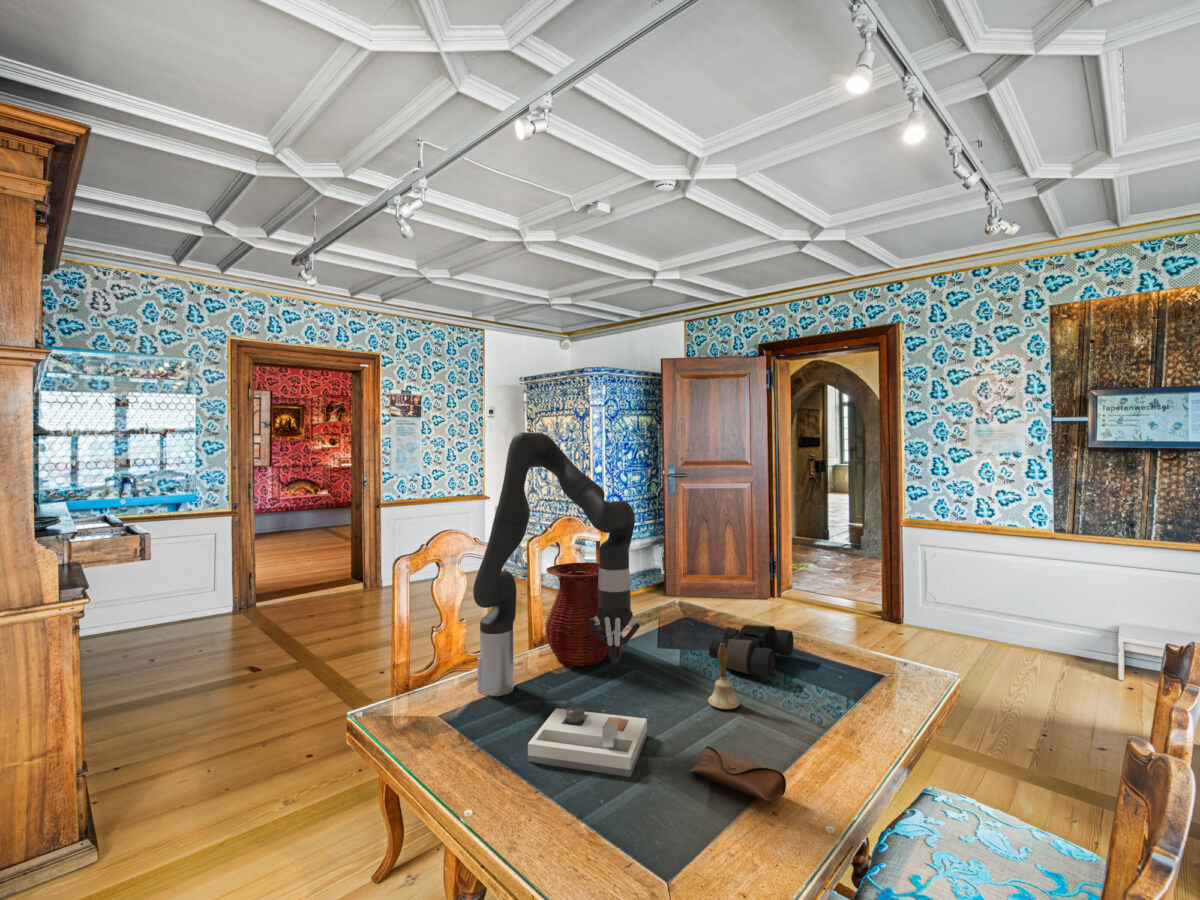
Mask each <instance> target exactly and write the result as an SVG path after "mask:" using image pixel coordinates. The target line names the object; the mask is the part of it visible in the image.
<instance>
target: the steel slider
mask: <svg viewBox="0 0 1200 900" xmlns="http://www.w3.org/2000/svg"><path fill="white" fill-rule="evenodd" d="M602 741H603V749H608V750H615V751H617V750H618V724H617V723H609V722H607V724H606V725H605V727H604V729H603V731H602Z"/></svg>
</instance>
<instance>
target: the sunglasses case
mask: <svg viewBox="0 0 1200 900" xmlns="http://www.w3.org/2000/svg"><path fill="white" fill-rule="evenodd" d="M688 772H689V773H692V774H694V775H698V776H701V777H703V778H706V779H708V780H710V781H713V782H714V783H717V784H720V785H723V786H725V787H728V788H730V789H733V790H734V791H736V792H739V793H742V794H745V795H747V796H750V797H751V798H755V799H758V800H759V799H760V800H763V801H766V802H771V803H772V802H773V801H776V800H779V798H781V797H783V796H784V795H785V793H786V788H787V781H786V777H785V775H784V774H783V773H782V772H780V771H779V770H777V769H774V768H770V767H765V766H761V765H759V764H756V763H754V762H752V761H750V760H749V761H748V760H746V759H743V758H740V757H737V756H734V755H732V754H729V753H725V752H723V751H720V750H717V748H716V749H715V748H714V747H712V746H706V747H705V750H704V751H703V753H702V754H701V755H700V757H699V759H698V760H697V762H696V763H695V764H694V765H693V767H692V769H690V770H688Z"/></svg>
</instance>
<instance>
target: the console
mask: <svg viewBox="0 0 1200 900" xmlns="http://www.w3.org/2000/svg"><path fill="white" fill-rule="evenodd" d="M566 709H567V708H555V709H554V710H553V711H552V713H551V714H550V716H548V718H547V719H546V720H545V722H544V723H543V724H542V725H541V727H540V728H539V729H538V730H537V732H535V734H534V735H533V737H532V738H531V739H530V740H529V741H528V743H527V762H529V763H535V764H539V765H540V764H541V765H547V766H553V767H559V768H566V769H574V770H580V771H587V772H595V773H600V774H608V775H613V776H621V777H627V778H631V776H632V774H633V772H634V769H635V767H636V764H637V762H638V759H639V757H640V755H641V752H642V749H643V747H644V745H645V743H646V739H647V737H648V719H647V718H644V717H635V716H626V715H618V714H608V713H603V712H602V713H599V712H592V711H584V720H585V721H584V723H583V724H580V725H569V724H567V723H566ZM614 717H617V718H622V719H624V720H625V729H624V731H618V750H617V751H615V750H608V749H603V741H602V731H603V729H604V727H605V725H606V722H607V720H608V719H610V718H614Z"/></svg>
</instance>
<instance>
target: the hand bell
mask: <svg viewBox="0 0 1200 900" xmlns="http://www.w3.org/2000/svg"><path fill="white" fill-rule="evenodd" d="M727 660H728V653H727V649H726V646H725V643H720V647H719V650H718V659H717V661H718V663H719V668H720V669H719V673H720V674H719V676H720V677H719V679H717V680H716V681H715V683H714V688H713V692H712V693H711V695H710V696H709V697H708V699H707V702H708V704H709V705H710V706H712V707H714V708H717V709H720V710H732V709H733V710H734V709H736V708H738V707H739V706H740V701H739V698H737V696H735V693H734V689H733V683H732V681H730V680H728V678H727V668H726V664H727Z"/></svg>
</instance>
